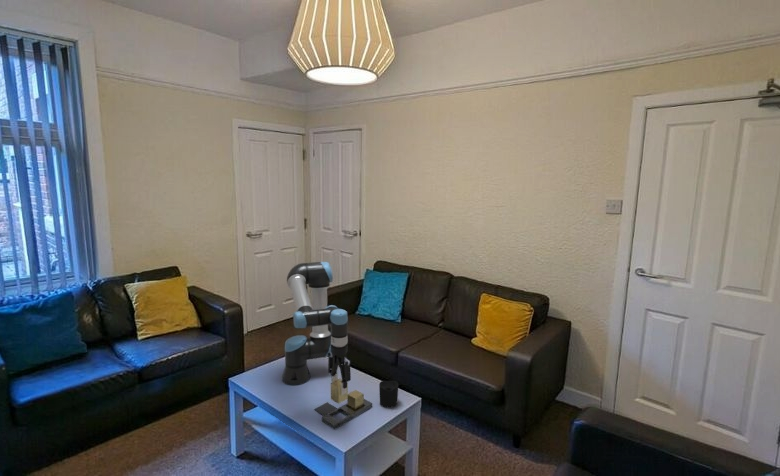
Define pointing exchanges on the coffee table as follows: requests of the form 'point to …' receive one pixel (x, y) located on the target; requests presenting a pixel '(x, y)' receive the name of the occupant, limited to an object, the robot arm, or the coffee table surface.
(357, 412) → the rail
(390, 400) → the pen holder
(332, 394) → the tan textured cube
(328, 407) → the rubber pad
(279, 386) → the coffee table surface
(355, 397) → the block
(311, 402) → the coffee table surface
